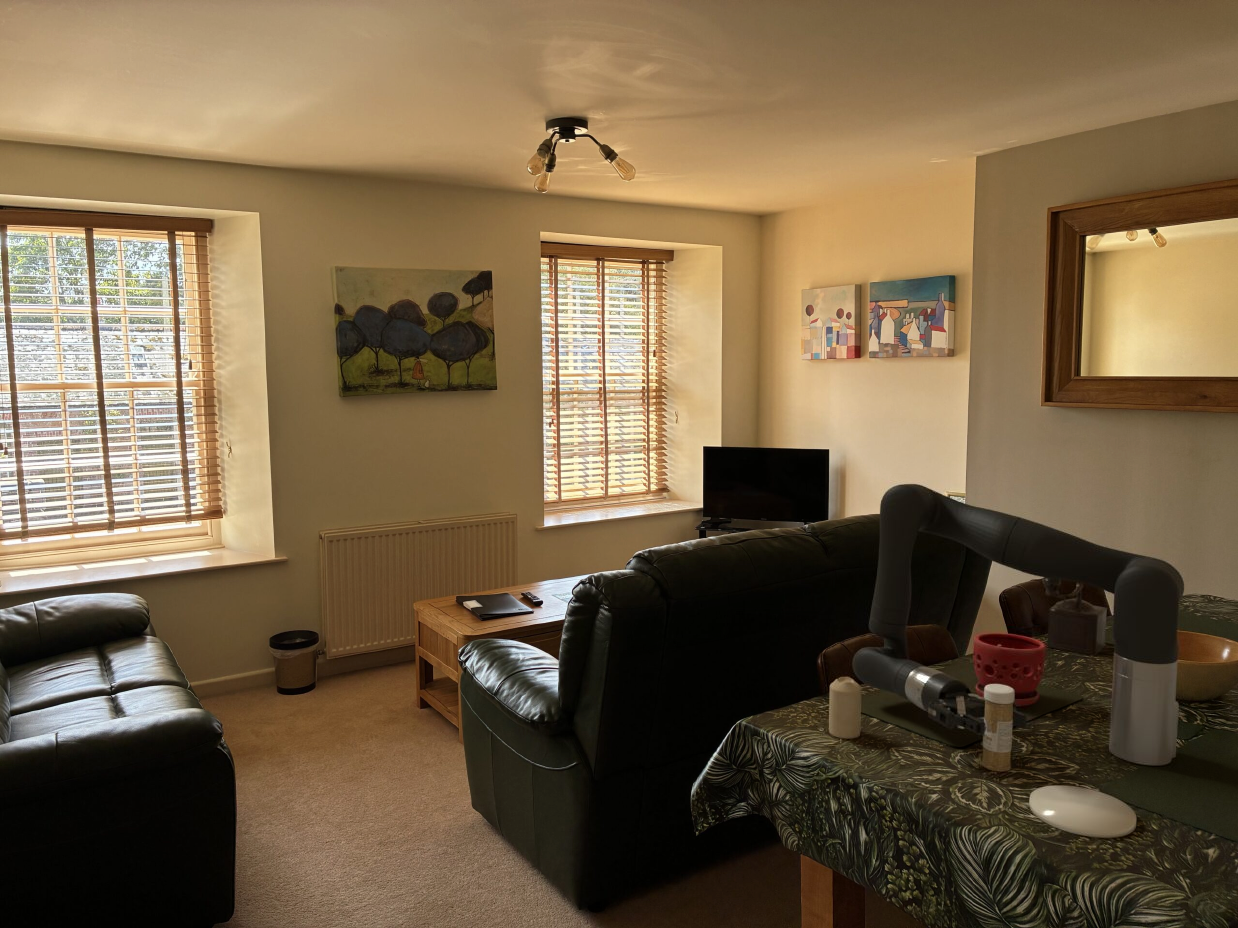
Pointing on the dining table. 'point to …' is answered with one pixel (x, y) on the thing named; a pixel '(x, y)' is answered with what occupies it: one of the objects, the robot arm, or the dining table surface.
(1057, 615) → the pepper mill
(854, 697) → the candle
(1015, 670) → the plant pot
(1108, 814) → the cream plate
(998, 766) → the sprinkles bottle
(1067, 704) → the dining table surface
